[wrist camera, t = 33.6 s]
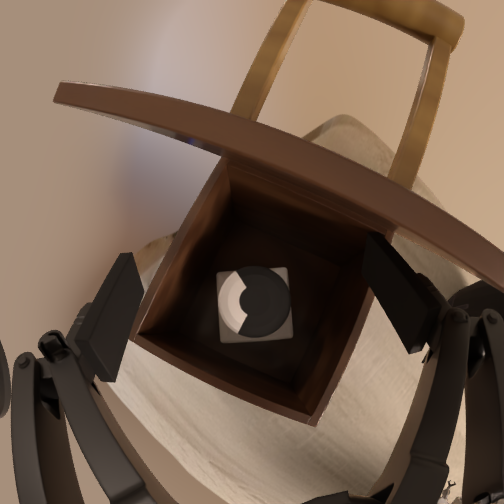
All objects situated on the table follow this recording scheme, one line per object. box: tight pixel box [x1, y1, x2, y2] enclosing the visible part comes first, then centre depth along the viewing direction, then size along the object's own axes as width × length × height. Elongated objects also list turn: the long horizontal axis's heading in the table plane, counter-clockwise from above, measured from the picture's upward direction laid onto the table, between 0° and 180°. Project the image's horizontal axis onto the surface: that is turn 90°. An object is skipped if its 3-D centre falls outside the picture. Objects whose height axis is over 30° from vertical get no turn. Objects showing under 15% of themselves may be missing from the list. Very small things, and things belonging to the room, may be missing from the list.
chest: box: [128, 157, 394, 427], centre depth 28 cm, size 18×17×14 cm
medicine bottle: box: [216, 266, 293, 343], centre depth 28 cm, size 7×7×12 cm
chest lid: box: [53, 0, 504, 293], centre depth 13 cm, size 18×17×9 cm
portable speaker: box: [448, 280, 504, 321], centre depth 25 cm, size 9×9×20 cm
